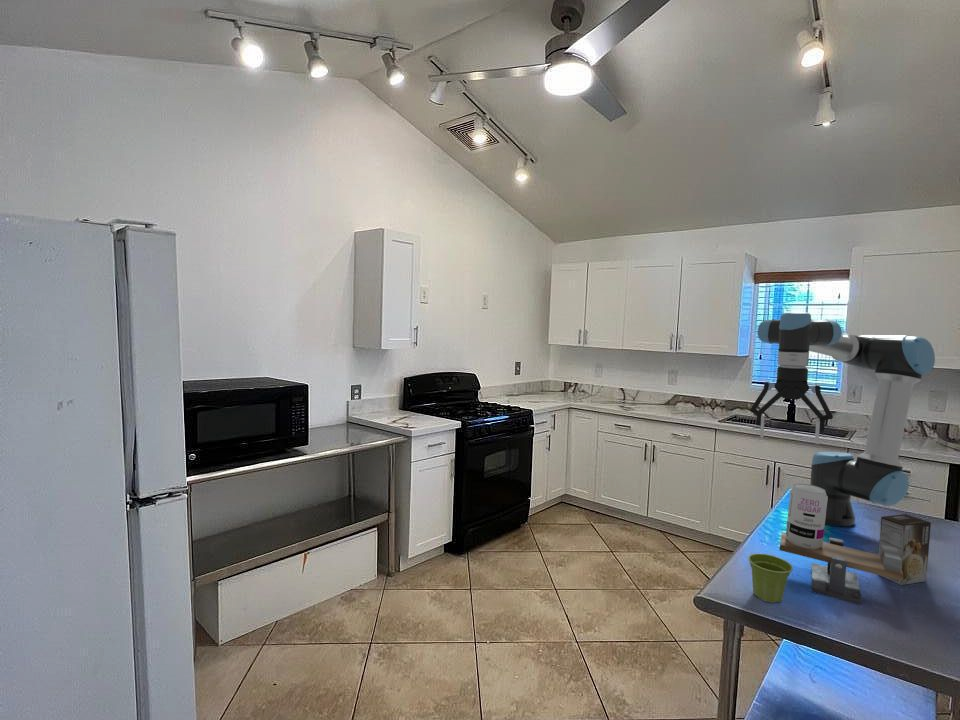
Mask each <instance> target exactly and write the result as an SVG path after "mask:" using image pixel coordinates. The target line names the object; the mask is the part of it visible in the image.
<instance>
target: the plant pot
mask: <svg viewBox="0 0 960 720" xmlns="http://www.w3.org/2000/svg"><path fill="white" fill-rule="evenodd" d="M747 558H748V562H749V564H750V565H749V566H750V567H751V577H752V590H753V591H752V593H753V595H754V596H757V598H758V599H759V600H762V601H764V602H767V603H770V602H771V604H775V603H781V602H782V600H783V597H784V593H785V589H786V585H787V581H788V577H790V574H791V573H792V571H793V570H794V567H793V566H792V563H790V562H788V561H787V560H785V559H783V558H781V557H778V556H775V555H772V554H767V553H752V554H750V555H749V556H747Z"/></svg>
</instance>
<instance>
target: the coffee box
mask: <svg viewBox="0 0 960 720" xmlns="http://www.w3.org/2000/svg"><path fill="white" fill-rule="evenodd" d="M880 517H881V518H880V530H879V531H880V532H879V543H878V554H879V555H880V553H881V545H885V546H890V547H894V548H897V550H898V553H899V555H900V557H901V560H902V561H901V570H902V572H903V581H901V580H897V579H893V578H889V577H885V576H881V575H879V576H880V577H882V578H884V579H887V580H889V581H891V582H893V583H895V584H897V585H900V586H904V585H910V584H916V583H917V584H918V583H923V582H927V575H928V565H929V564H928V562H929V553H930V537H931V527H932V526H931V524H932V522H930V521H928V520H925V519H921V518H919V517H915V516H913V515H910V514H906V513H905V514H904V513H903V514H894V515H886V516H885V515H884V516H880Z"/></svg>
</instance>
